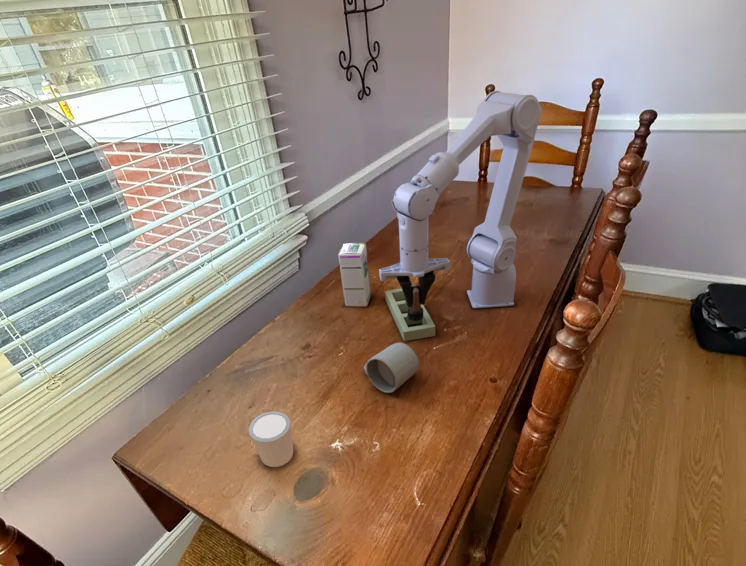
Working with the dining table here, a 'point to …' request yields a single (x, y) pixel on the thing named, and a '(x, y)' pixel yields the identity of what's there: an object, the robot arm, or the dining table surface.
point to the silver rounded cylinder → (415, 304)
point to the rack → (402, 319)
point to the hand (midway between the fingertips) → (415, 303)
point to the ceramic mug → (392, 367)
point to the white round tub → (272, 438)
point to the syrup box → (355, 274)
